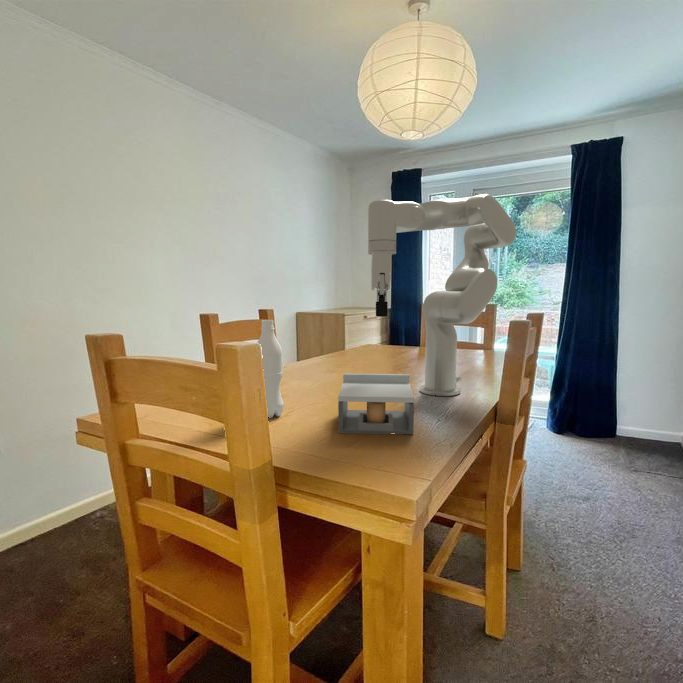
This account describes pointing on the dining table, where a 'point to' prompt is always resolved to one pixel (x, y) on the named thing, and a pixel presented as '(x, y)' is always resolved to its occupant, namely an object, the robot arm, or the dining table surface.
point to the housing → (358, 423)
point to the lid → (376, 388)
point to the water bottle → (271, 368)
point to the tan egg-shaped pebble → (376, 412)
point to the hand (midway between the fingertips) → (381, 316)
